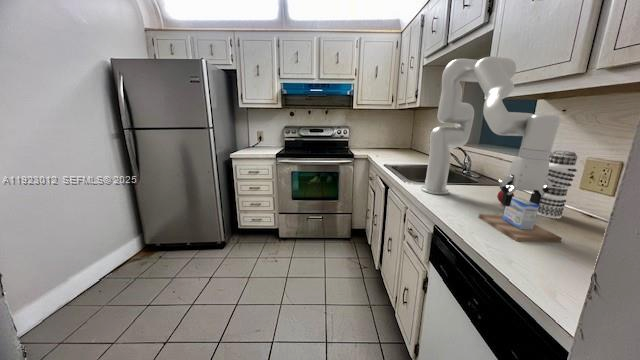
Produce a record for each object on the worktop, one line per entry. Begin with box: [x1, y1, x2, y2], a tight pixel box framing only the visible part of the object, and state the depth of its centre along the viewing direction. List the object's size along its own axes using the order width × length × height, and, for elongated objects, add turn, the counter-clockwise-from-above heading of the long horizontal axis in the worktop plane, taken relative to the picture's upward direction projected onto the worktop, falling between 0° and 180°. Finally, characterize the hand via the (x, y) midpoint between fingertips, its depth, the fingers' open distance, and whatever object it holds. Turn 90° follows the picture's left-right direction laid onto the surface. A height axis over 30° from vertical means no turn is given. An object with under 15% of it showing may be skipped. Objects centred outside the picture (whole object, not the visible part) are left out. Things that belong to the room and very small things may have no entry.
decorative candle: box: [537, 150, 579, 219], centre depth 96 cm, size 9×9×25 cm
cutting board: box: [478, 213, 563, 243], centre depth 85 cm, size 18×14×2 cm
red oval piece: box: [497, 188, 515, 203], centre depth 108 cm, size 6×6×8 cm
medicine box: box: [503, 196, 539, 230], centre depth 84 cm, size 8×4×9 cm, turn 2°
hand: (519, 205), depth 84 cm, fingers open, 9 cm apart
